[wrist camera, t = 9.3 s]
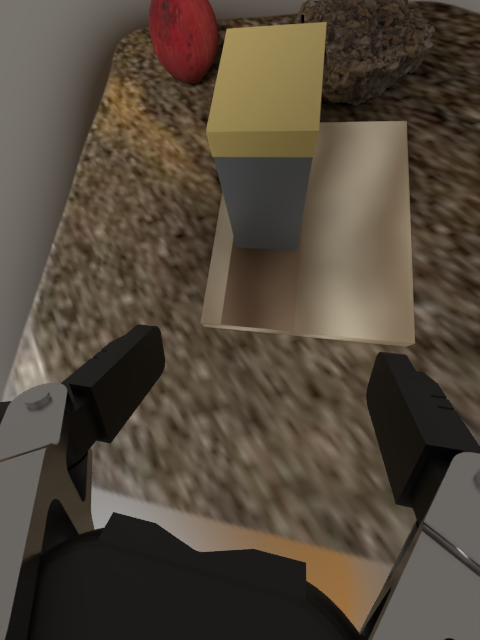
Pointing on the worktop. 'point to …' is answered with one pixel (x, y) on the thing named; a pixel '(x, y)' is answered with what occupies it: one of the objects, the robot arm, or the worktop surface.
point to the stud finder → (267, 129)
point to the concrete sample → (367, 45)
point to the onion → (184, 37)
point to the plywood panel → (329, 249)
